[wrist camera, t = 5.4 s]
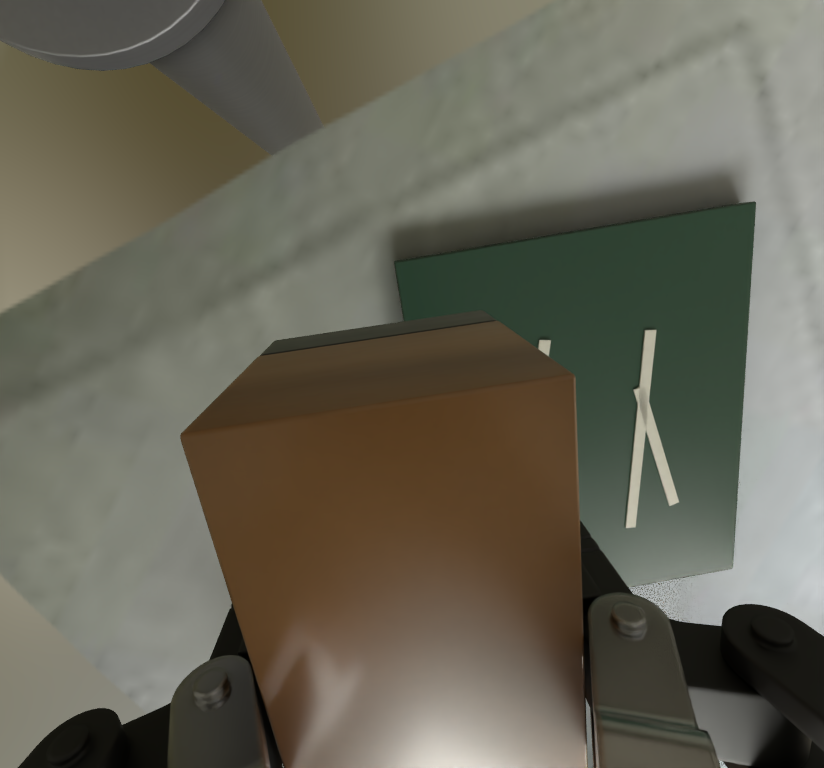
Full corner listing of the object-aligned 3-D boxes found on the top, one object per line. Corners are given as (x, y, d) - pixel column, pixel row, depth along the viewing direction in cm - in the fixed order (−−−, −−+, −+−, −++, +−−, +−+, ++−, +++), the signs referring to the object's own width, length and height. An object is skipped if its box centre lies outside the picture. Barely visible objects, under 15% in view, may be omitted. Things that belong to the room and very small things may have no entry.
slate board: (393, 261, 24) (394, 262, 23) (741, 202, 24) (758, 201, 23) (450, 607, 30) (453, 621, 29) (722, 558, 31) (734, 570, 30)
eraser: (273, 340, 11) (176, 434, 6) (484, 309, 11) (577, 373, 6) (354, 690, 14) (340, 951, 9) (515, 663, 14) (593, 906, 9)
